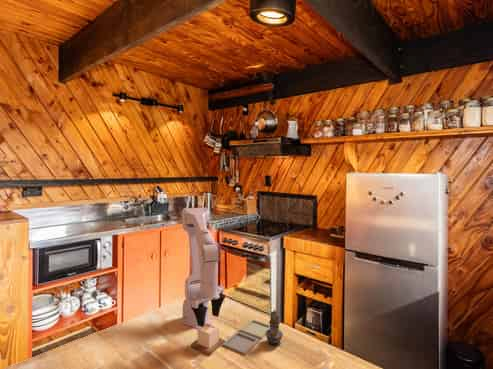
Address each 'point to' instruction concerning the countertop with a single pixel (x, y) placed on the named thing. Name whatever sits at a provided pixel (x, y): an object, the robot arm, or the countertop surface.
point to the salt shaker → (274, 330)
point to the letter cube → (208, 335)
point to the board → (205, 349)
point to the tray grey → (241, 342)
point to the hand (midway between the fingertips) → (208, 320)
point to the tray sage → (255, 328)
